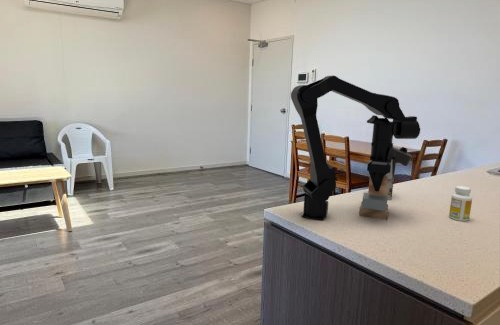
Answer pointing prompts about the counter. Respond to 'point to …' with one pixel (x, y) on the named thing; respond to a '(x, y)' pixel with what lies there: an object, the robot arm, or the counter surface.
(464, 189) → the supplement bottle
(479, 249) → the counter surface
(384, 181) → the terracotta cube
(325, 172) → the robot arm
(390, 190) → the coffee box
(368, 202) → the slate top slab
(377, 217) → the walnut base slab
